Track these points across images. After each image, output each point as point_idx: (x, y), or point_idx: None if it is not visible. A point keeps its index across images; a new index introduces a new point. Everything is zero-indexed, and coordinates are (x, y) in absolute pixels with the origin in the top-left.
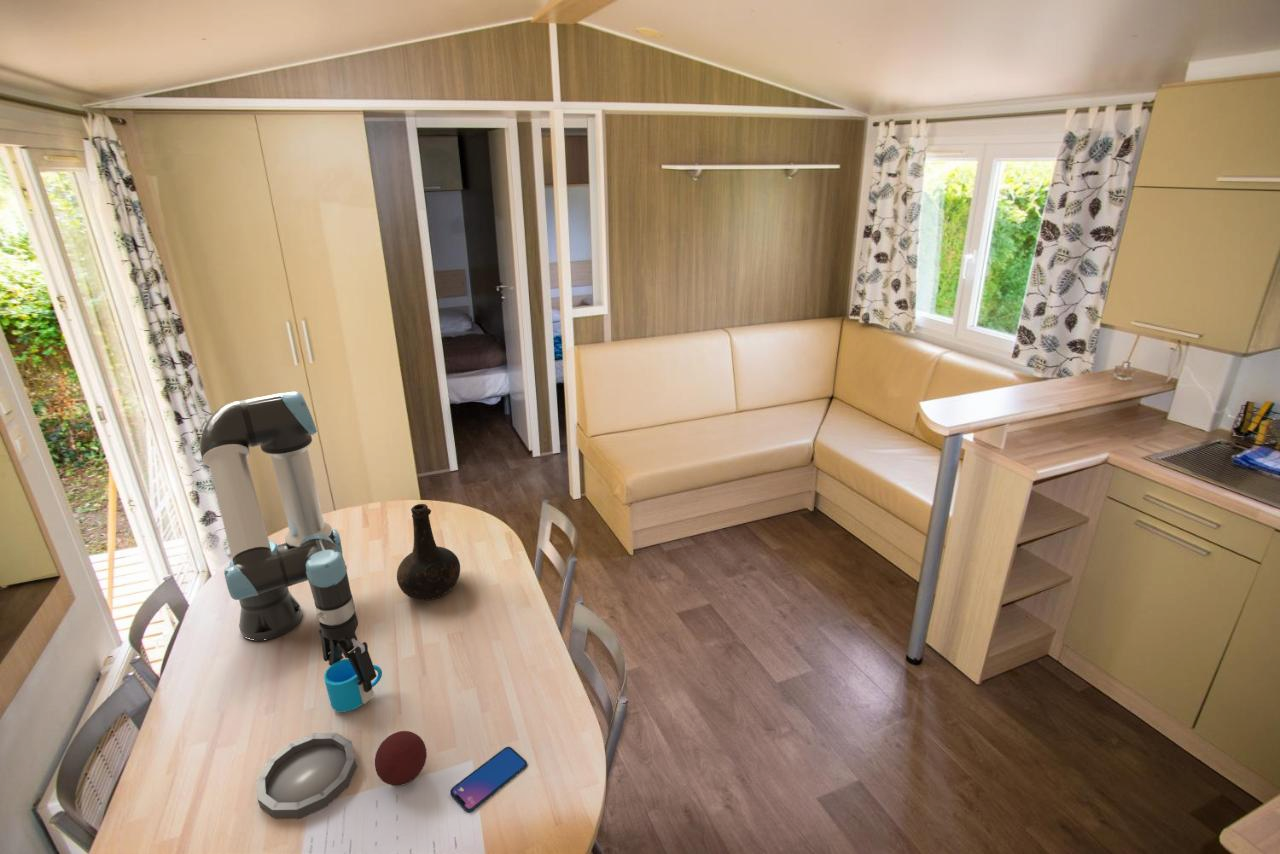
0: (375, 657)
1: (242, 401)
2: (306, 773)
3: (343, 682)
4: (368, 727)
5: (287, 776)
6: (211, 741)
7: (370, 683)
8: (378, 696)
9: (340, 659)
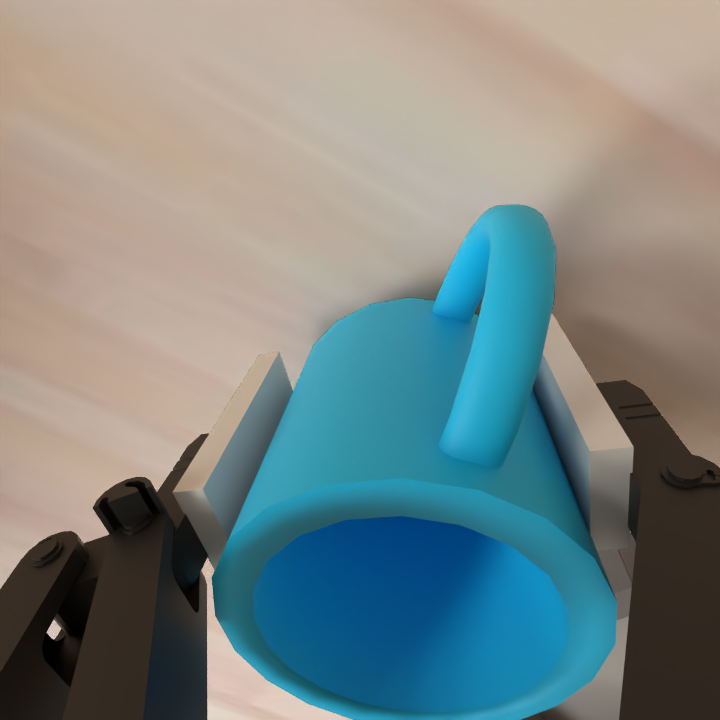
0: (94, 39)
1: None
2: None
3: (557, 688)
4: (690, 419)
5: (588, 696)
6: (209, 697)
7: (668, 434)
8: None
9: (169, 524)
